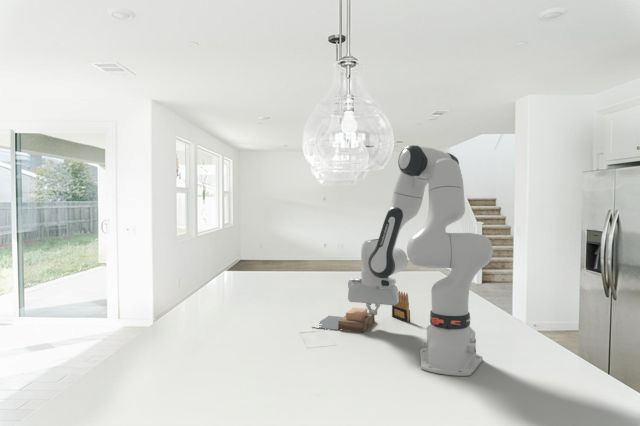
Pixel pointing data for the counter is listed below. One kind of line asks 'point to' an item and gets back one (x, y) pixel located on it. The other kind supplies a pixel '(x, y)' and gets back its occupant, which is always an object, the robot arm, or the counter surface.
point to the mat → (330, 322)
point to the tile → (356, 313)
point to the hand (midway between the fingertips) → (373, 314)
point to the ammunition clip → (402, 308)
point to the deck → (356, 323)
